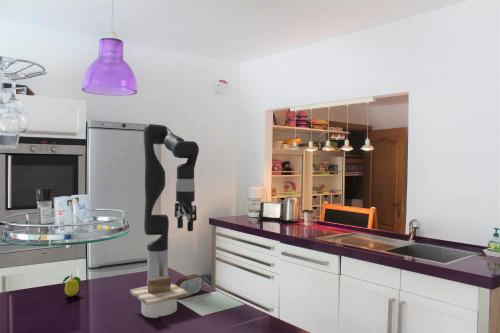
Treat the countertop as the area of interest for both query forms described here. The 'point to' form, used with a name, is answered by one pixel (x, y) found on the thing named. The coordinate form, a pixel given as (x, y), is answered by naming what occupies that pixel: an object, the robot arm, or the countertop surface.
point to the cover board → (160, 295)
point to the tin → (191, 283)
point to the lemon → (71, 285)
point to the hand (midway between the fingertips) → (185, 229)
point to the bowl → (159, 308)
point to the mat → (210, 303)
